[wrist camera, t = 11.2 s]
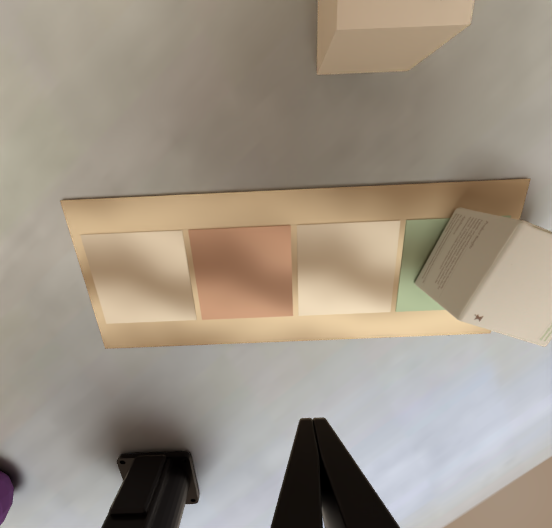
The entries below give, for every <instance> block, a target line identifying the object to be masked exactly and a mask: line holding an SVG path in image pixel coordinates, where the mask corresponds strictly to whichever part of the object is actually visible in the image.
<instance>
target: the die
mask: <svg viewBox="0 0 552 528" xmlns="http://www.w3.org/2000/svg"><path fill="white" fill-rule="evenodd" d="M474 1H475V0H318V23H317V75H325V74H349V73H373V72H397V71H409V70H410V69H412V68H413V67H414V66H416V65H417V64H418V63H420V62H421V61H422V60H424V59H425V58H426V57H428V56H429V55H430V54H432V53H433V52H434V51H436V50H437V49H438V48H440V47H441V46H442V45H444V44H445V43H446V42H448V41H449V40H450V39H452V38H453V37H454V36H456V35H457V34H458V33H460V32H461V31H462V30H464V29H465V28H466V27H468V26H469V25H471V19H472V13H473V7H474Z"/></svg>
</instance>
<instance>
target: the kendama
mask: <svg viewBox="0 0 552 528" xmlns="http://www.w3.org/2000/svg"><path fill="white" fill-rule="evenodd" d="M13 492H14V487H13V485H12V483H11V480H10V478H9V476H8V475H6V474H5V473H3V472H1V471H0V525H1V524H2V523H3V521H4V520H5V518H6V515H7V513H8V511H9V509H10V507H11V505H12V502H13Z"/></svg>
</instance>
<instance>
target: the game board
mask: <svg viewBox="0 0 552 528" xmlns="http://www.w3.org/2000/svg"><path fill="white" fill-rule="evenodd" d="M529 182H530V179H508V180H487V181H465V182H444V183H422V184H401V185H379V186H358V187H336V188H315V189H293V190H272V191H250V192H229V193H207V194H186V195H164V196H143V197H121V198H100V199H78V200H61V201H60V202H61V205H62V209H63V212H64V215H65V218H66V222H67V225H68V228H69V231H70V235H71V238H72V241H73V245H74V248H75V251H76V254H77V258H78V261H79V264H80V267H81V271H82V274H83V277H84V280H85V284H86V287H87V290H88V294H89V297H90V300H91V303H92V307H93V310H94V313H95V316H96V320H97V323H98V326H99V329H100V333H101V336H102V339H103V343H104V346H105V349H108V348H133V347H158V346H183V345H208V344H233V343H258V342H283V341H308V340H333V339H358V338H383V337H408V336H433V335H458V334H483V333H491V330H488V329H485V328H481V327H478V326H475V325H472V324H468V323H465V322H462V321H459V320H457V319H456V318H455V317H454V316H453V315H451V314H450V313H449V312H448V311H447V310H445V309H444V308H443V307H442V306H440V305H439V304H438V303H437V302H436V301H434V300H433V299H432V298H431V297H430V296H428V295H427V294H426V293H425V292H424V291H422V290H421V289H420V288H419V287H417V286H416V285H415V281H416V280H417V278H418V276H419V274H420V273H421V271H422V269H423V267H424V265H425V263H426V262H427V260H428V258H429V256H430V255H431V253H432V251H433V249H434V247H435V245H436V244H437V242H438V240H439V238H440V236H441V235H442V233H443V231H444V229H445V227H446V226H447V224H448V222H449V220H450V218H451V217H452V215H453V213H454V211H455V210H456V209H457V208H465V209H469V210H473V211H478V212H483V213H488V214H492V215H497V216H502V217H507V218H513V219H518V220H520V217H521V213H522V210H523V206H524V202H525V198H526V194H527V190H528V186H529Z"/></svg>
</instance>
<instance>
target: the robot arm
mask: <svg viewBox="0 0 552 528" xmlns="http://www.w3.org/2000/svg"><path fill="white" fill-rule="evenodd" d="M117 464H118V467H119V470H120V473H121V476H122V478H123V483H122V485H121V487H120V489H119V491H118V493H117V495H116V497H115V499H114V501H113V503H112V505H111V507H110V510H109V513H108V515H107V517H106V519H105V521H104V523H103V525H102V527H101V528H179V525H180V522H181V518H182V514H183V510H184V507H185V504H196V503H197V502H198V500H199V491H198V487H197V482H196V477H195V472H194V468H193V463H192V458H191V455H190V453H188V452H164V453H136V454H121V455H120V456H119V458H118V460H117ZM322 516H323V521H324V526H325V528H400V527H399V525H398V524H397V522H396V521H395V519H394V518H393V517H392V515H391V514H390V512H389V511H388V509H387V508H386V506H385V505H384V503H383V502H382V500H381V499H380V497H379V496H378V495H377V493H376V492H375V490H374V489H373V487H372V486H371V484H370V483H369V481H368V480H367V478H366V477H365V475H364V474H363V473H362V471H361V470H360V468H359V467H358V465H357V464H356V462H355V461H354V459H353V458H352V456H351V455H350V453H349V452H348V451H347V449H346V448H345V446H344V445H343V443H342V442H341V440H340V439H339V437H338V436H337V434H336V433H335V431H334V430H333V429H332V427H331V426H330V424H329V423H328V421H327V420H326V419H325V418H314V419H313V420H312V419H311V418H301V419H300V421H299V424H298V428H297V432H296V435H295V439H294V443H293V446H292V450H291V454H290V457H289V461H288V465H287V469H286V472H285V476H284V480H283V483H282V487H281V491H280V494H279V498H278V502H277V506H276V509H275V513H274V517H273V520H272V524H271V528H323V522H322Z"/></svg>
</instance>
